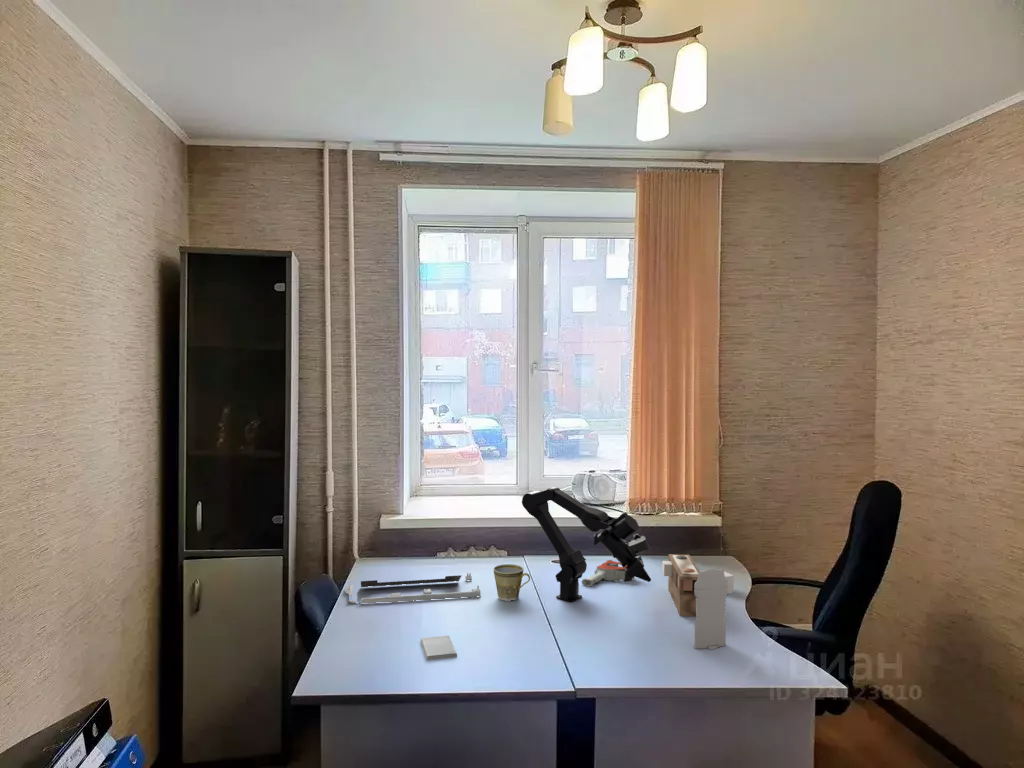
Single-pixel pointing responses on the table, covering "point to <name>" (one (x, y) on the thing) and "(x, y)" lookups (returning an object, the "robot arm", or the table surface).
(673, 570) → the wooden stand
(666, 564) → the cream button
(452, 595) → the paper cutter
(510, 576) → the ceramic cup
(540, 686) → the table surface
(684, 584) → the salmon pink cube
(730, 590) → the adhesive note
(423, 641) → the hard drive
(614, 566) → the tape dispenser
